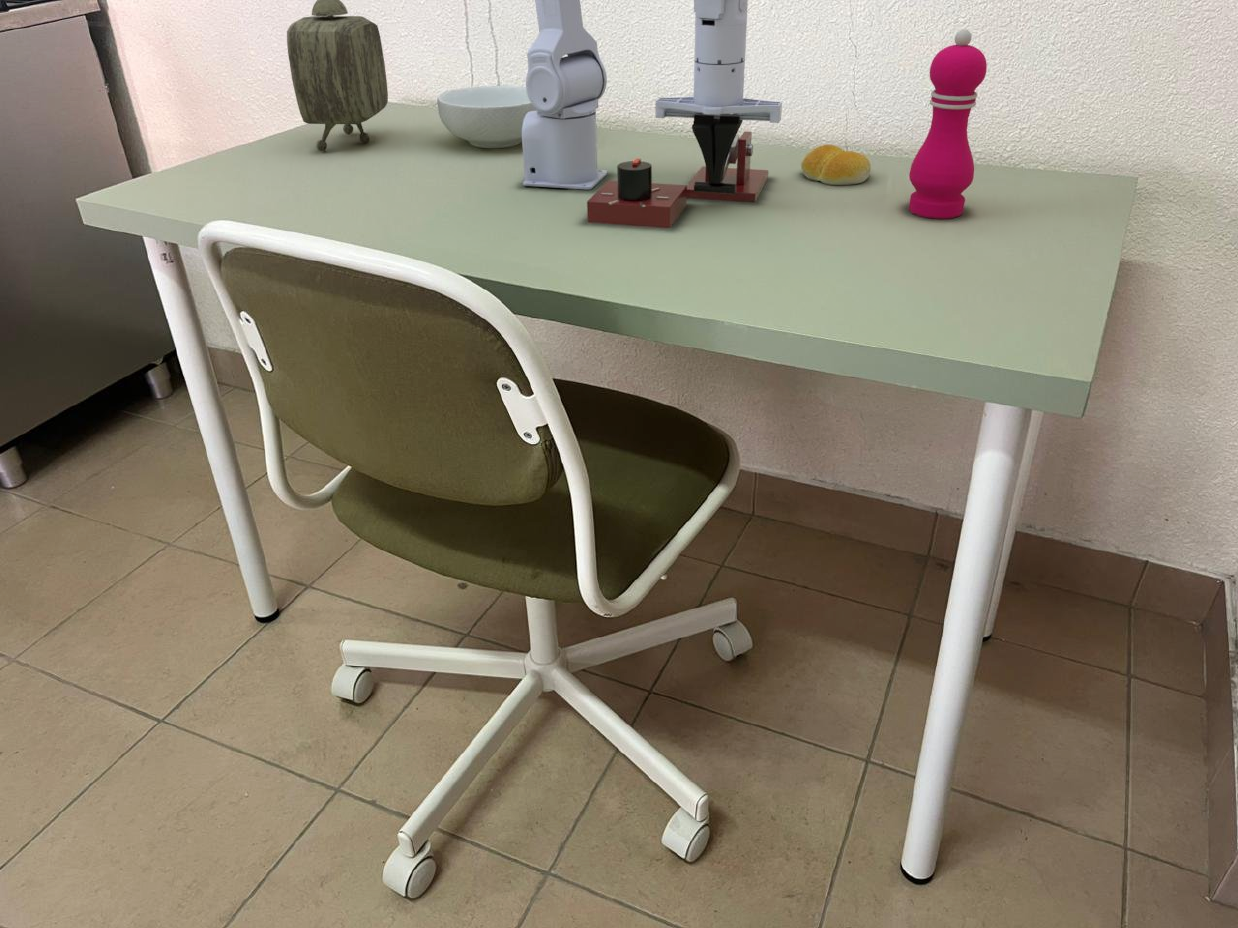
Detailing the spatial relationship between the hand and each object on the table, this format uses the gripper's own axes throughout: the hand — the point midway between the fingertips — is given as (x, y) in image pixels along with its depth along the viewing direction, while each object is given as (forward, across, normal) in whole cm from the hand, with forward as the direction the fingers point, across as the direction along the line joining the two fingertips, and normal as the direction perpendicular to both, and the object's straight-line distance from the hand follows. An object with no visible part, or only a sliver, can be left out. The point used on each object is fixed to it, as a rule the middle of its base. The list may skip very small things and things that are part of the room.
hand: (715, 181), depth 115 cm
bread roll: (+3, +13, +17) cm, 21 cm away
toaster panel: (+3, -8, -4) cm, 10 cm away
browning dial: (+1, -8, -6) cm, 10 cm away
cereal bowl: (+3, -39, +26) cm, 47 cm away
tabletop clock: (+3, -61, +21) cm, 65 cm away
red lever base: (+3, 0, +9) cm, 9 cm away
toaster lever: (+1, 0, +5) cm, 5 cm away
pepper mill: (+3, +26, +5) cm, 27 cm away
